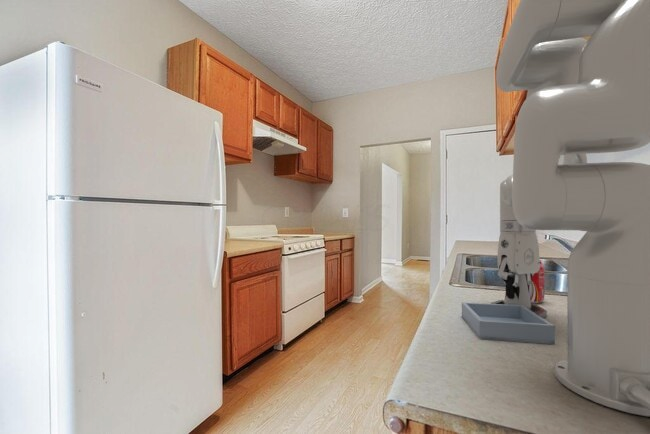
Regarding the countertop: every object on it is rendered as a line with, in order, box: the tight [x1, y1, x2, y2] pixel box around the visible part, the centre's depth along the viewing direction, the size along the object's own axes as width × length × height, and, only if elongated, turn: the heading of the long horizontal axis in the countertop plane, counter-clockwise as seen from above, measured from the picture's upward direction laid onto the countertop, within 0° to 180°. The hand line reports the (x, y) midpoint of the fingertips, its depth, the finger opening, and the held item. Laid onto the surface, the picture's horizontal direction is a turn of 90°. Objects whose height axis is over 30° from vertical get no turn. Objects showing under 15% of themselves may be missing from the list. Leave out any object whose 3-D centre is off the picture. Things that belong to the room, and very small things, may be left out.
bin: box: [461, 301, 556, 345], centre depth 63 cm, size 13×13×4 cm
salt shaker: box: [504, 271, 532, 310], centre depth 74 cm, size 6×6×13 cm
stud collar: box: [490, 299, 548, 319], centre depth 74 cm, size 11×11×2 cm
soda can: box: [529, 259, 546, 305], centre depth 84 cm, size 7×7×12 cm
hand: (517, 299), depth 74 cm, fingers closed on salt shaker, 3 cm apart
